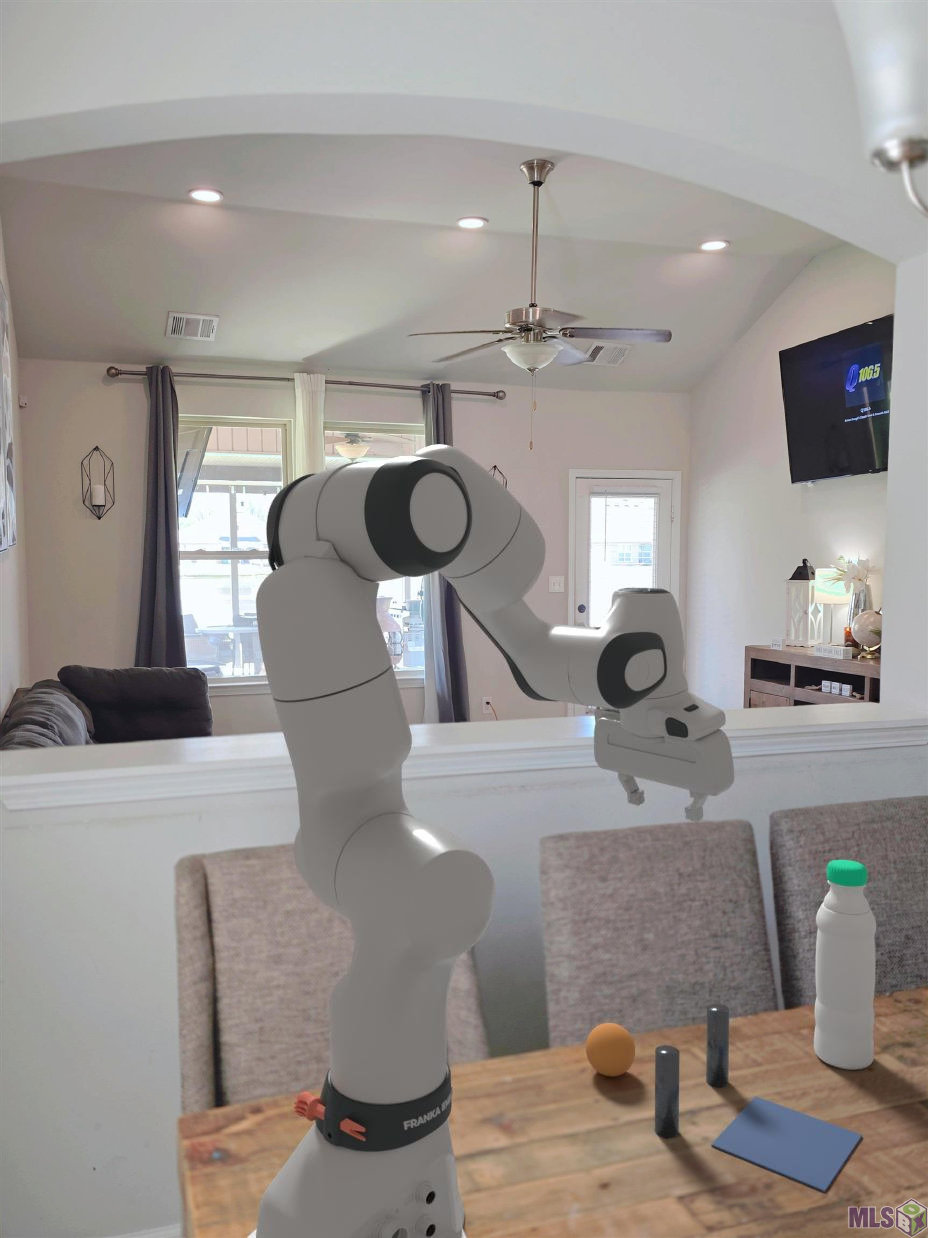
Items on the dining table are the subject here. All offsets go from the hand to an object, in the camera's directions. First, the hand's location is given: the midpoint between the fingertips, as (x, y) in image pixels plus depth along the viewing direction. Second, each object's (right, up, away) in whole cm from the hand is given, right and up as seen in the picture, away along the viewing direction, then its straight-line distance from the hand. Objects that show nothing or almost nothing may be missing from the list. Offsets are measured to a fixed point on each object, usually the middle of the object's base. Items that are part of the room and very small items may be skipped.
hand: (664, 811), depth 123 cm
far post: (+4, -31, -9) cm, 32 cm away
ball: (-8, -28, -7) cm, 30 cm away
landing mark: (+9, -31, -21) cm, 39 cm away
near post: (-4, -31, -19) cm, 37 cm away
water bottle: (+22, -31, -3) cm, 38 cm away
